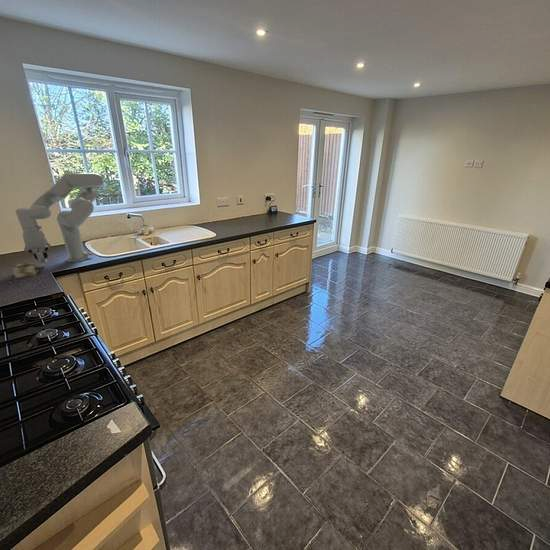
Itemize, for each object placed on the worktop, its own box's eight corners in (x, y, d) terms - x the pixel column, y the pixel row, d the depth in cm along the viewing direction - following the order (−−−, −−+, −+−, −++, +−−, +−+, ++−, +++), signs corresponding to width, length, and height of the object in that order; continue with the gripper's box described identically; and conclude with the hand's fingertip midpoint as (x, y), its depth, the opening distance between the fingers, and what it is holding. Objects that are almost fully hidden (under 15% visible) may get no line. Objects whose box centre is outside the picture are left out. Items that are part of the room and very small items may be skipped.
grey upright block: (47, 260, 185) (42, 246, 181) (45, 263, 180) (40, 249, 177) (40, 261, 184) (35, 247, 180) (39, 264, 179) (33, 250, 175)
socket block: (46, 269, 179) (44, 261, 177) (43, 274, 171) (41, 265, 169) (19, 272, 173) (17, 264, 172) (15, 277, 166) (12, 269, 164)
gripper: (49, 226, 180) (59, 254, 188) (15, 230, 173) (27, 259, 181) (46, 228, 174) (57, 258, 181) (11, 233, 167) (23, 263, 175)
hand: (42, 258), depth 181 cm, fingers closed on grey upright block, 3 cm apart
